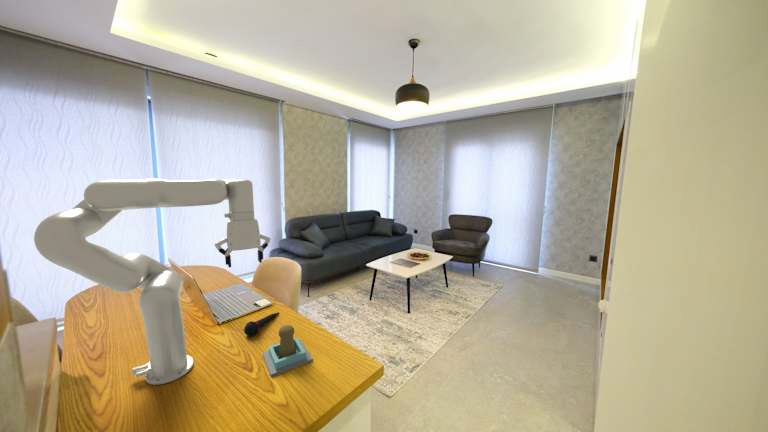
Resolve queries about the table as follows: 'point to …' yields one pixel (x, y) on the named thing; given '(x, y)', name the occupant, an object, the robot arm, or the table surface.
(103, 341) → the table surface
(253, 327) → the microphone
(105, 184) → the robot arm
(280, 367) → the socket
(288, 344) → the cork
